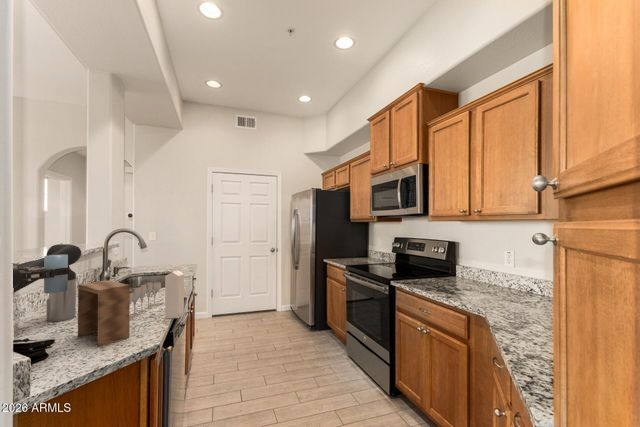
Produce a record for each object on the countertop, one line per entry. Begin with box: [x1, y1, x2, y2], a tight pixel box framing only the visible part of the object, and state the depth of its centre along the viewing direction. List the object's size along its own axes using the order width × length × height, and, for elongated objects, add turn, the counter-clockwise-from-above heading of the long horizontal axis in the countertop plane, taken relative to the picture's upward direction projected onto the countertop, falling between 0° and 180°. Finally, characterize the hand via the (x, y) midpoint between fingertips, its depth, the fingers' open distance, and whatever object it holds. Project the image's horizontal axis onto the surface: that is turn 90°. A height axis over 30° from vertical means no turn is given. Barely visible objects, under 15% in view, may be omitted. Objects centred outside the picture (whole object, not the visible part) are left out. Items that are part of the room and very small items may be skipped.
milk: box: [164, 266, 185, 319], centre depth 138 cm, size 6×6×22 cm
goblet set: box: [129, 280, 162, 321], centre depth 145 cm, size 28×6×13 cm, turn 0°
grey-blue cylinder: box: [43, 255, 68, 294], centre depth 102 cm, size 6×6×12 cm
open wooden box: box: [77, 279, 131, 348], centre depth 114 cm, size 10×18×20 cm, turn 57°
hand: (65, 269), depth 104 cm, fingers closed on grey-blue cylinder, 6 cm apart
